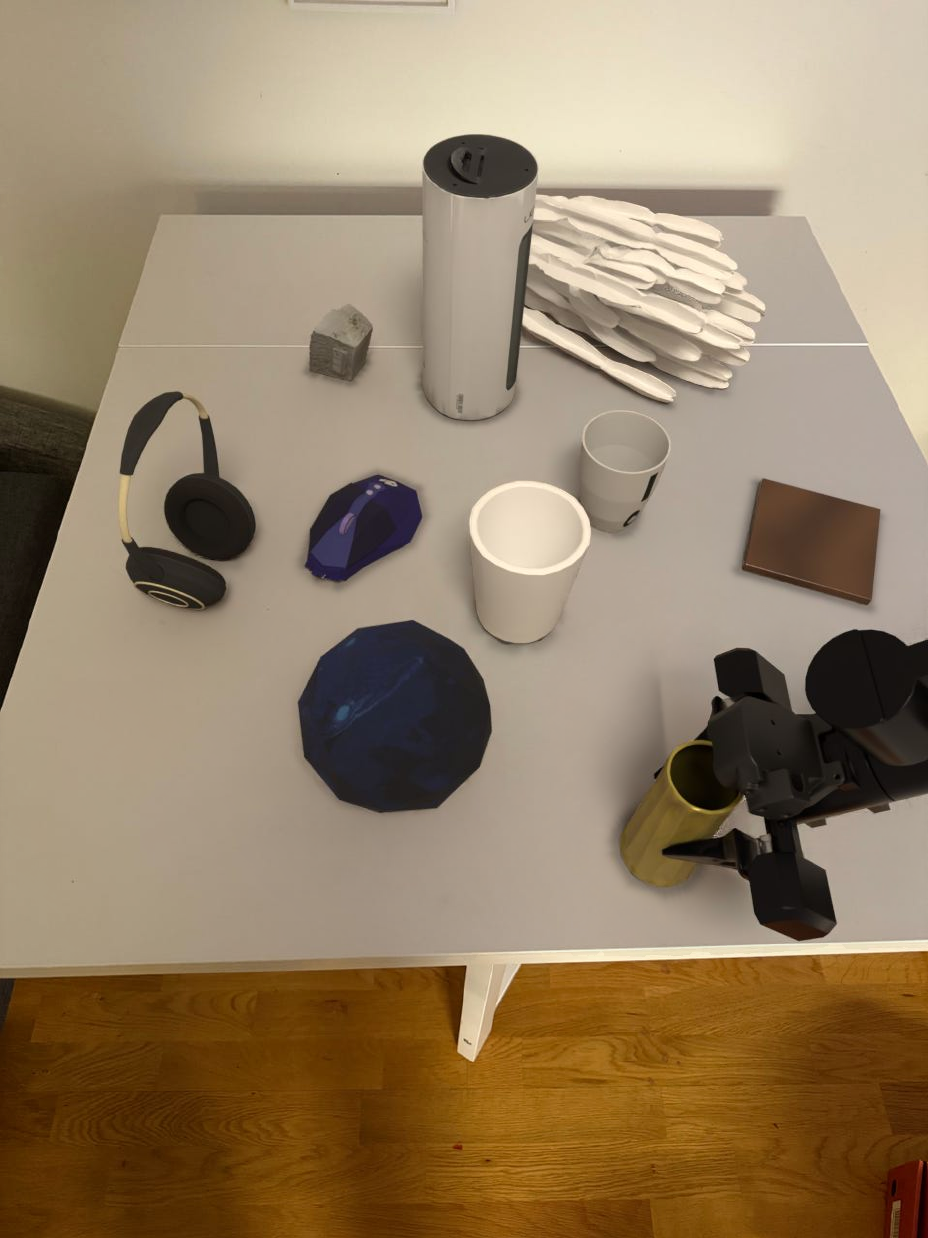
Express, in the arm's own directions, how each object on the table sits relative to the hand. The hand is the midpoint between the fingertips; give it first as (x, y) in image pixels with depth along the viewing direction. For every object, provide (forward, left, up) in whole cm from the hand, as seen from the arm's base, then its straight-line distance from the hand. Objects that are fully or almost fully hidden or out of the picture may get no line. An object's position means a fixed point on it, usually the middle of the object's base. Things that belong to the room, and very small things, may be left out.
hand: (660, 815), depth 62 cm
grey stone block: (+44, -43, -7) cm, 62 cm away
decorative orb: (+21, -1, -7) cm, 22 cm away
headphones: (+45, -12, -7) cm, 47 cm away
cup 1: (+16, -18, -7) cm, 25 cm away
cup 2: (+11, -33, -7) cm, 35 cm away
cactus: (+18, -60, -7) cm, 63 cm away
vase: (-1, 0, -7) cm, 7 cm away
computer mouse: (+33, -22, -7) cm, 40 cm away
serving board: (-9, -36, -7) cm, 38 cm away
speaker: (+30, -45, -7) cm, 54 cm away
